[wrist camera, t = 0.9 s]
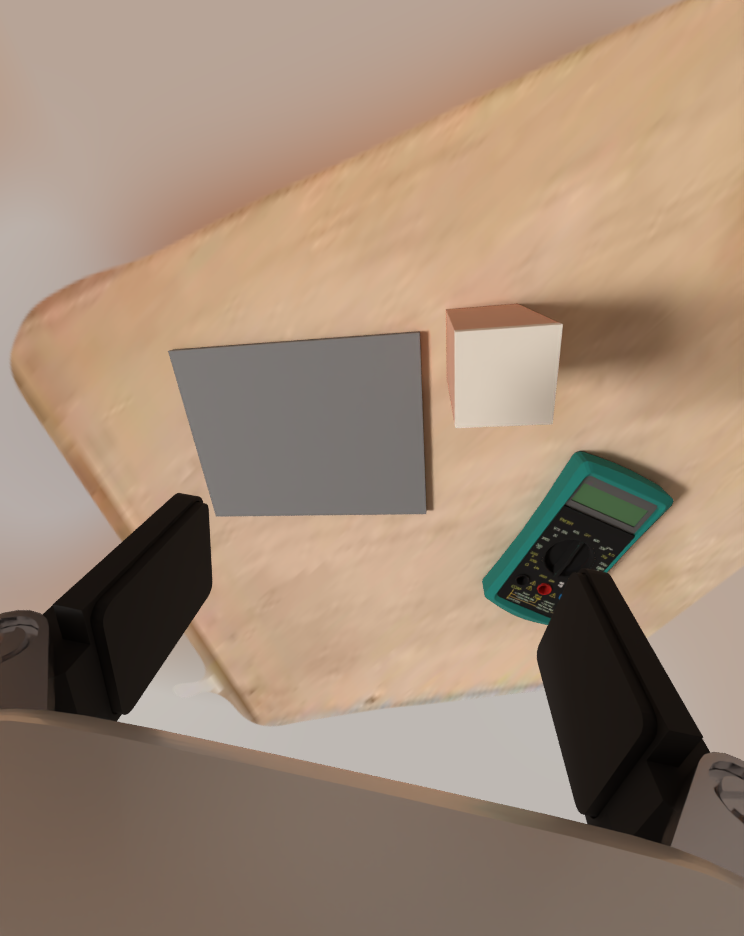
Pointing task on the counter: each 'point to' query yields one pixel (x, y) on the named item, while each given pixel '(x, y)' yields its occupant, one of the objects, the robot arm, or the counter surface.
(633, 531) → the digital multimeter
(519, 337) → the block
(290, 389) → the mat
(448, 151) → the counter surface
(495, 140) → the counter surface
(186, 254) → the counter surface
